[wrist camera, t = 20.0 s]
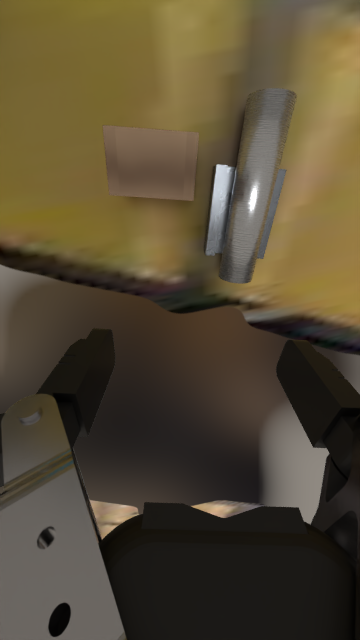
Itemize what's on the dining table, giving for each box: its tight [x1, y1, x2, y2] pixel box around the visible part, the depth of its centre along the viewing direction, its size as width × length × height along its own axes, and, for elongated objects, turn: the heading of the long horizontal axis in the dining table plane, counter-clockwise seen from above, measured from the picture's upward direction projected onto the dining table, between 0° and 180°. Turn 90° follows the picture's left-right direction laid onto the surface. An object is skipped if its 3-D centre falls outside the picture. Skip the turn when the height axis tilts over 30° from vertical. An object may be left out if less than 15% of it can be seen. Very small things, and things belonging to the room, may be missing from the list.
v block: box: [204, 164, 286, 259], centre depth 28 cm, size 10×8×2 cm
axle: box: [219, 88, 297, 283], centre depth 25 cm, size 18×4×4 cm, turn 176°
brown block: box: [103, 125, 199, 201], centre depth 23 cm, size 5×8×8 cm, turn 86°
